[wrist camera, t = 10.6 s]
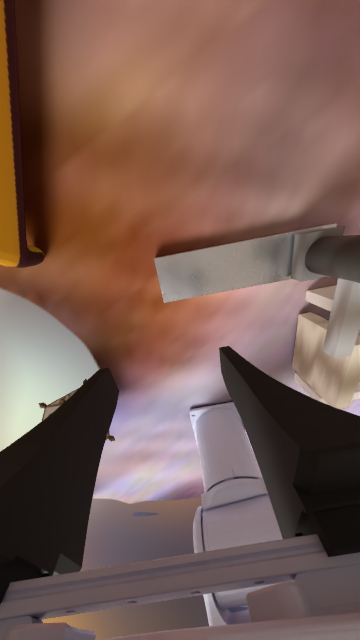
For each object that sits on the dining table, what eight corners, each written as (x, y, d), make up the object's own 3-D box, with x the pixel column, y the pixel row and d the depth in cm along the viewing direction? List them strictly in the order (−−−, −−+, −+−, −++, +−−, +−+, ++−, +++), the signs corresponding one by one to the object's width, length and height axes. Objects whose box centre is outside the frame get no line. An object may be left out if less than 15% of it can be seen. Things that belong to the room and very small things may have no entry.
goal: (356, 367, 25) (409, 403, 19) (293, 378, 25) (328, 416, 20) (388, 275, 19) (474, 289, 14) (306, 290, 19) (360, 309, 14)
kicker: (302, 364, 24) (371, 427, 16) (275, 369, 24) (330, 434, 16) (325, 227, 16) (472, 213, 9) (286, 234, 17) (396, 228, 9)
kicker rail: (318, 270, 19) (327, 272, 17) (164, 299, 19) (164, 302, 18) (326, 224, 17) (337, 223, 16) (155, 257, 17) (154, 258, 16)
